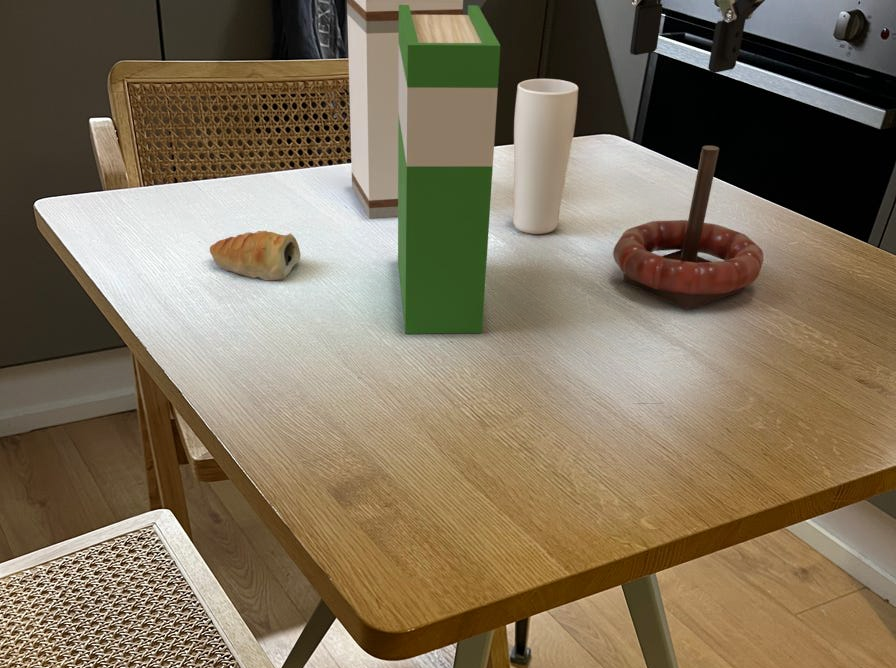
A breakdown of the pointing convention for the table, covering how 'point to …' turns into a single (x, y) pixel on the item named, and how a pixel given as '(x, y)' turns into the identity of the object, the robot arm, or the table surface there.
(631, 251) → the ring
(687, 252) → the peg stand
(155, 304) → the table surface
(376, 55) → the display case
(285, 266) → the pastry
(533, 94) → the drinking glass
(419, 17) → the hardback book
